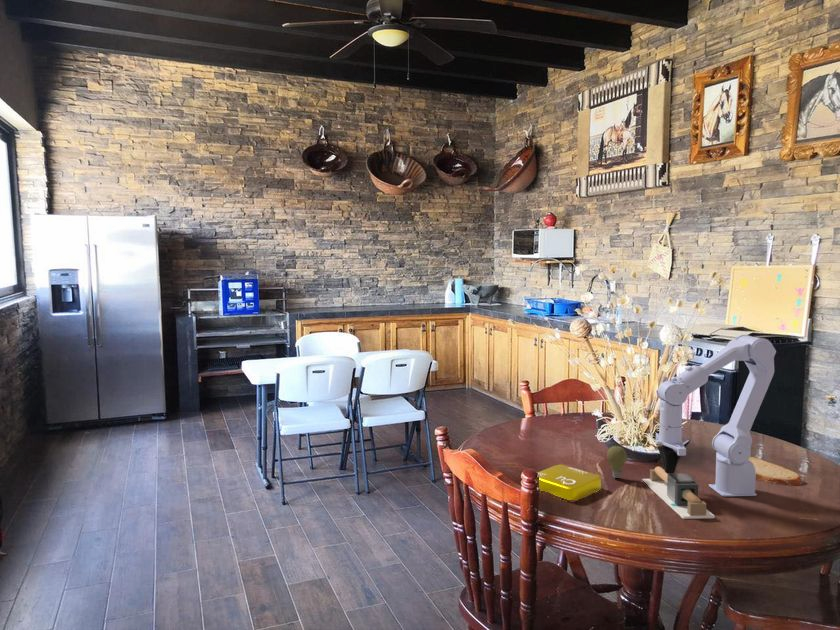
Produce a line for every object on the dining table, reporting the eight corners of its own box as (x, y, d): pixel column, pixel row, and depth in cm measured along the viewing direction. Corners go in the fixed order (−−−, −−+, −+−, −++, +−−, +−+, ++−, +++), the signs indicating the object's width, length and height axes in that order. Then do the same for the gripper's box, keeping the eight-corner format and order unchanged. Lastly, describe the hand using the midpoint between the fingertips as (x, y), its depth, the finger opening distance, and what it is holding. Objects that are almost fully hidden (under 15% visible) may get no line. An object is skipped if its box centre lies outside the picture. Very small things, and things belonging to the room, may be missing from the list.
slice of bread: (807, 487, 168) (807, 474, 167) (738, 483, 171) (738, 471, 171) (782, 466, 185) (782, 454, 185) (720, 463, 189) (720, 451, 188)
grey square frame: (674, 502, 155) (675, 483, 154) (695, 502, 155) (695, 482, 154) (677, 505, 153) (677, 485, 153) (697, 504, 153) (698, 484, 153)
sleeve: (667, 495, 160) (667, 473, 159) (685, 494, 160) (686, 473, 159) (675, 502, 155) (675, 480, 154) (694, 502, 155) (695, 480, 154)
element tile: (603, 490, 167) (603, 474, 167) (573, 505, 157) (573, 488, 157) (559, 476, 178) (559, 461, 178) (528, 489, 169) (528, 473, 168)
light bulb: (602, 476, 177) (603, 444, 176) (617, 474, 179) (618, 442, 178) (615, 483, 171) (615, 449, 171) (630, 480, 173) (631, 447, 173)
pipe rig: (642, 480, 173) (642, 464, 173) (669, 480, 173) (669, 464, 173) (683, 518, 147) (683, 499, 147) (714, 518, 147) (715, 499, 147)
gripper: (645, 418, 170) (644, 464, 171) (668, 432, 155) (666, 482, 157) (669, 418, 170) (668, 463, 171) (694, 432, 156) (692, 481, 157)
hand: (669, 472), depth 164 cm, fingers closed
